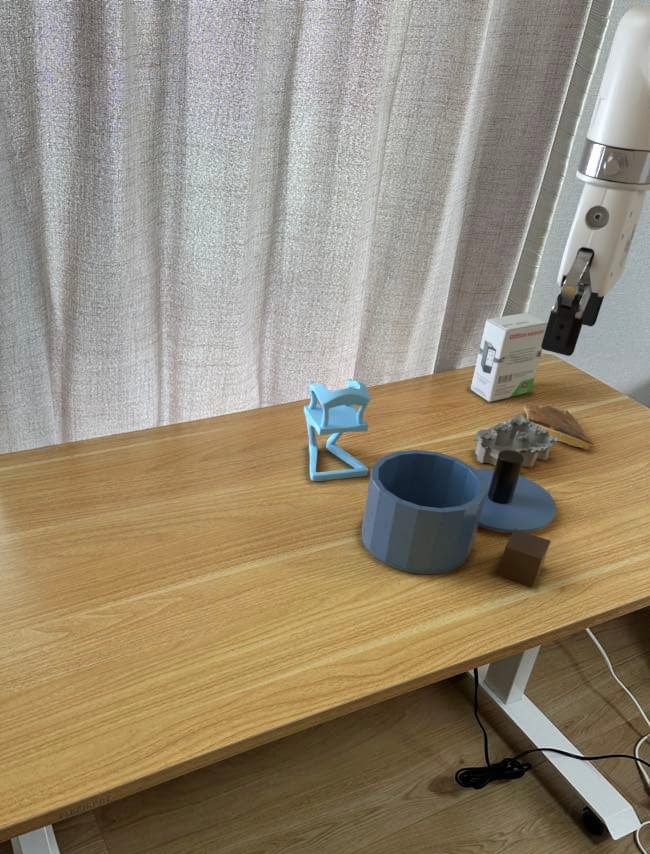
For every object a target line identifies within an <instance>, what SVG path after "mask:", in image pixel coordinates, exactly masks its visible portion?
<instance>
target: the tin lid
mask: <svg viewBox="0 0 650 854" xmlns="http://www.w3.org/2000/svg"><path fill="white" fill-rule="evenodd" d="M523 461H524V457H523V456H522V455H521V454H520V453H518V452H516V451H512V450H503V451H501V452H500V453H499V454H498V458H497V462H496V465H494V468H475V469H476V470H477V471H478V473H479V474H480V475H481V476H482V477H483V478H484V479H485V483H486V488H487V495H486V499H485V502H484V506H483V510H482V513H481V517H480V521H479V524H478V527H480V528H483V529H487V530H488V531H489V530H490V531H495V532H500V533H504V534H505V533H506V534H513V532H514V530H515V529H517V530H520V531H523V532H526V533H532V532H537V531H540V530H542V529H544V528H546V527H548V526H549V525H550V524H551V523H552V522H553V521H554V519H555V517H556V514H557V505H556V501H555V499H554V498H553V496H552V495H551V494H550V492H548V491H547V490H546V489H545V488H544V487H543V486H541V485H540V484H538V483H537V482H535V481H534V480H531V479H530V478H528V477H525V476H523V475H520V474H521V472H522V469H523V466H522V465H523Z"/></svg>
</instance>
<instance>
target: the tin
mask: <svg viewBox="0 0 650 854" xmlns="http://www.w3.org/2000/svg"><path fill="white" fill-rule="evenodd" d="M476 469H477V468H475V467H473V466H472V465H470V464H469V463H467V462H465V461H464V460H461V459H459V458H458V457H456V456H451V455H448V454H445V453H442V452H438V451H430V450H420V449H410V450H400V451H399V450H398V451H394V452H391V453H389V454H385V455H384V456H381V457H379V459H378V460H377V461H376V462H375V463H374V464H373V465H372V466H371V469H370V470H371V471H370V476H369V482H368V487H367V495H366V501H365V507H364V512H363V519H362V527H361V539H362V543H363V545H364V546H365V548H366V550H367V551H368V552H369V553H370V554H371V555H372V556H373V557H374V558H375V559H377V560H378V561H380V562H381V563H383V564H385V565H387V566H388V567H391V568H392V569H393V568H394V569H396V570H399V571H403V572H407V573H411V574H418V575H437V574H439V575H440V574H444V573H448V572H451V571H454V570H456V569H457V568H460V567H461V566H462V565H463V564H464V563H465V562H466V561H467V560H468V559H469V556H470V553H471V552H472V550H473V546H474V543H475V539H476V535H477V531H478V529H479V526H478V524H479V521H480V517H481V513H482V510H483V506H484V502H485V499H486V495H487V488H486V483H485V479H484V478H483V477H482V476H481V475H480V474H479V473H478V471H477V470H476Z"/></svg>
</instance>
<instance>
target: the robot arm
mask: <svg viewBox="0 0 650 854" xmlns="http://www.w3.org/2000/svg"><path fill="white" fill-rule="evenodd" d="M607 58H608V59H607V62H606V66H605V69H604V72H603V75H602V80H601V84H600V87H599V90H598V94H597V98H596V100H595V105H594V107H593V108H594V109H593V112H592V116H591V120H590V123H589V127H588V131H587V134H586V138H585V140H584V144H583V147H582V152H581V155H580V159H579V162H578V166H577V169H576V173H575V176H576V178H577V179H579V180H580V181H583V182H585V183H584V186H583V189H582V192H581V195H580V198H579V201H578V203H577V207H576V211H575V215H574V217H573V219H572V223H571V227H570V231H569V234H568V237H567V241H566V244H565V246H564V247H565V248H564V250H563V254H562V258H561V262H560V266H559V269H558V274H557V280H556V283H557V286H558V287H559V288H560V290H559V292H558V294H557V296H556V299H555V301H554V304H553V306H552V309H551V311H550V313H549V317H548V321H547V322H548V324H547V327H546V330H545V334H544V337H543V341H542V344H541V348H542V350H544V351H547V352H551V353H555V354H558V355H564V356H567V357H570V356H572V355H573V354H574V352H575V350H576V345H577V344H578V339H579V337H580V333H581V330H582V326H587V327H594V326H595V324H596V322H597V319H598V317H599V315H600V311H601V307H602V304H603V301H604V299H605V296H607V295H608V294H609V293H610V291H612V289H613V288H614V287H615V285H616V284H617V283H618V282H619V280H620V279H621V277H622V275H623V273H624V271H625V267H626V264H627V261H628V257H629V253H630V250H631V246H632V243H633V240H634V237H635V233H636V232H637V231H636V230H637V228H638V223H639V222H640V217H641V215H642V210H643V207H644V204H645V199H646V195H647V192H648V191H650V5H638V6H635V7H631V8H630V9H629V10H627V11H626V12H625V13H623V15H622V16H621V18H620V20H619V22H618V24H617V28H616V30H615V33H614V37H613V40H612V43H611V48H610V51H609V55H608V57H607Z"/></svg>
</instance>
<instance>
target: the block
mask: <svg viewBox="0 0 650 854" xmlns="http://www.w3.org/2000/svg"><path fill="white" fill-rule="evenodd" d="M551 542H552V540H550V539H547V538H544V537H541V536H538V535H535V534H532V533H530V532H528V533H526V532H523V531H520V530H517V529H515V530H514V532H513V533H511V536H510V537H509V539H508V541H507V543H506V545H505V546H504V549H503V553H502V556H501V558H500V559H501V560H500V562H499V566H498V569H497V572H496V576H499V577H501V578H504V579H507V580H510V581H512V582H515V583H518V584H520V585H524V586H526V587H529V588H533V587H534V585H535V584H536V581H537V579H538V578H539V575H540V573H541V571H542V568H543V565H544V563H545V560H546V557H547V555H548V554H547V553H548V551H549V548H550V545H551Z"/></svg>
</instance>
